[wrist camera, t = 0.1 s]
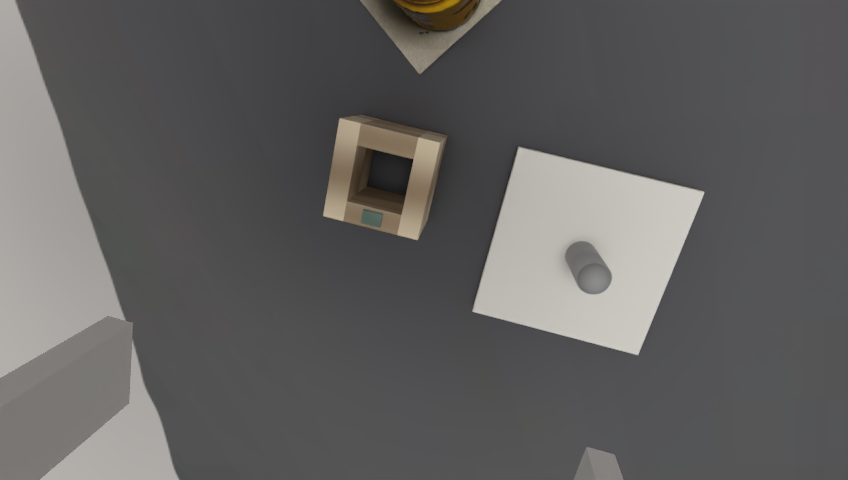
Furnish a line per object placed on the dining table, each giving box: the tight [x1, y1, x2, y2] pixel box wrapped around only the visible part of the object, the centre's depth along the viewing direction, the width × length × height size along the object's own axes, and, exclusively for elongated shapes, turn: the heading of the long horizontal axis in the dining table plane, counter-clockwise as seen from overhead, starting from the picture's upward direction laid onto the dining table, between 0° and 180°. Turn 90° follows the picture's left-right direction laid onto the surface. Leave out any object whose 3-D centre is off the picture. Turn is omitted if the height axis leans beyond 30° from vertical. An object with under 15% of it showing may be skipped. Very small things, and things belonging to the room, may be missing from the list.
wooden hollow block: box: [323, 115, 447, 240], centre depth 37 cm, size 7×7×6 cm
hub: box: [472, 146, 705, 355], centre depth 37 cm, size 14×14×7 cm
